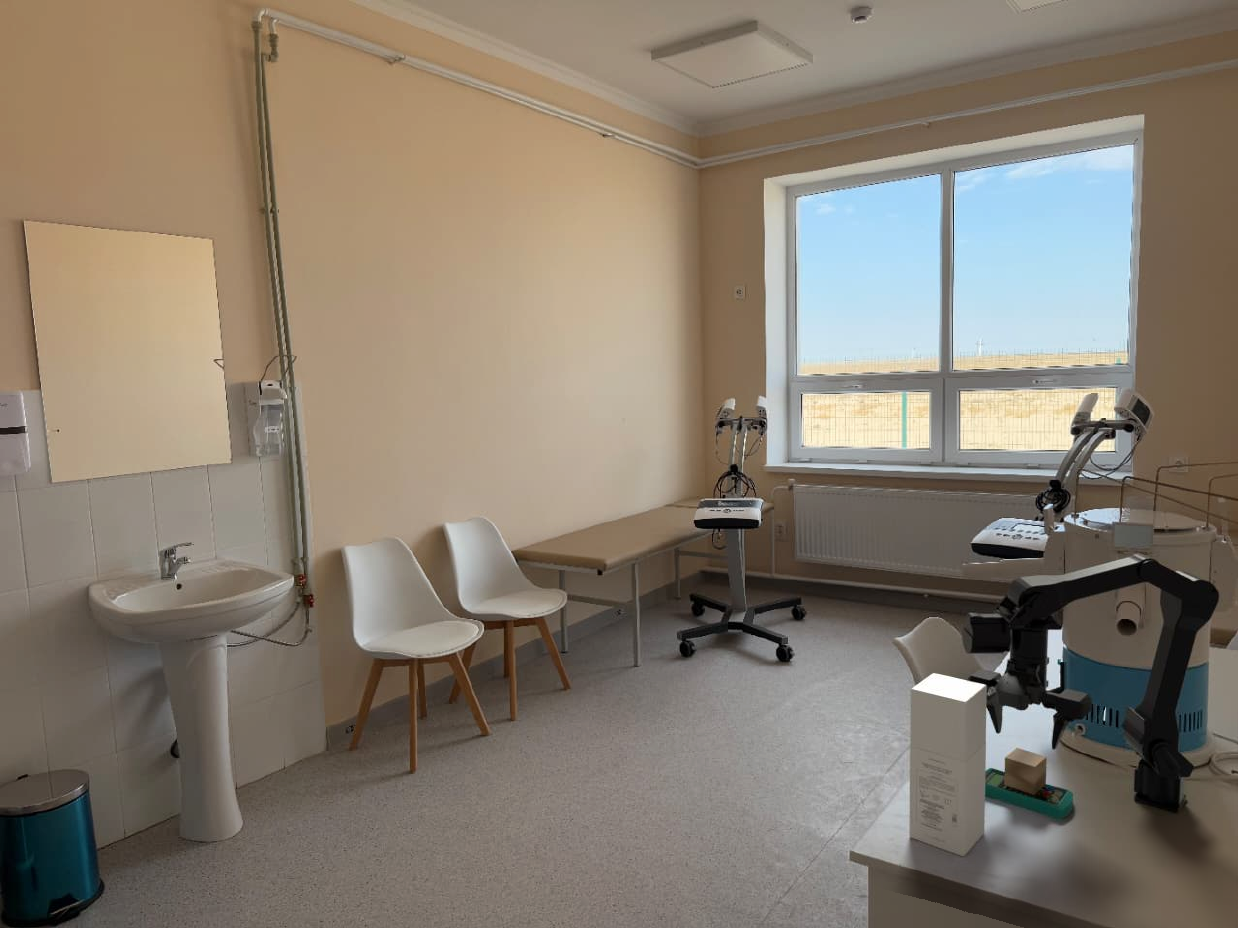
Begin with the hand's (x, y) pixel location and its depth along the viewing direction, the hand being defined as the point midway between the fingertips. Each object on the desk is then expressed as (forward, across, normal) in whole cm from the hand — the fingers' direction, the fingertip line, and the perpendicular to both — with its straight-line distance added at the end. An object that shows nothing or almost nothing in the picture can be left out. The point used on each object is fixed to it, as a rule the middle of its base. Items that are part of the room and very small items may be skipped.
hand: (1025, 740), depth 148 cm
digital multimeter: (+11, 0, 0) cm, 11 cm away
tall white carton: (+11, -5, -20) cm, 23 cm away
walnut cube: (+8, 0, 0) cm, 8 cm away
